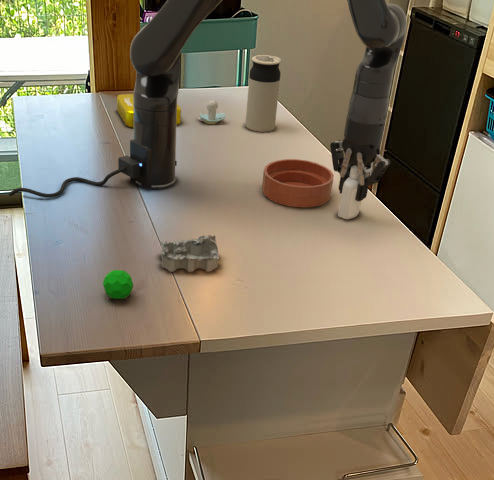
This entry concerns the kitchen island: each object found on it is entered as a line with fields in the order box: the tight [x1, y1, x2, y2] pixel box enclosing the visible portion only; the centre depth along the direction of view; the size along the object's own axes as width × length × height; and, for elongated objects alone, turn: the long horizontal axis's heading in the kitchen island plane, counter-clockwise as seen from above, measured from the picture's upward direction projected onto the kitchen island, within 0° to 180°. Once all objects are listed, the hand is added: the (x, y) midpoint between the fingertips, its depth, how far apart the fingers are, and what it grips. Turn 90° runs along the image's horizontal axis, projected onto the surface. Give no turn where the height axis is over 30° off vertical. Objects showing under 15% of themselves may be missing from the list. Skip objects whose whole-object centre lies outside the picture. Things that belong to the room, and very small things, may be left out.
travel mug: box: [244, 54, 282, 133], centre depth 187 cm, size 8×8×18 cm
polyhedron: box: [102, 269, 134, 300], centre depth 119 cm, size 5×5×5 cm
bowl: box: [261, 158, 335, 208], centre depth 157 cm, size 15×15×5 cm
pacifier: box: [198, 99, 226, 125], centre depth 192 cm, size 7×6×6 cm
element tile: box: [116, 93, 182, 129], centre depth 192 cm, size 15×15×5 cm
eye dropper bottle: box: [337, 165, 362, 220], centre depth 147 cm, size 4×6×12 cm
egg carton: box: [160, 234, 220, 273], centre depth 130 cm, size 11×8×4 cm
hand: (351, 196), depth 148 cm, fingers closed on eye dropper bottle, 3 cm apart
